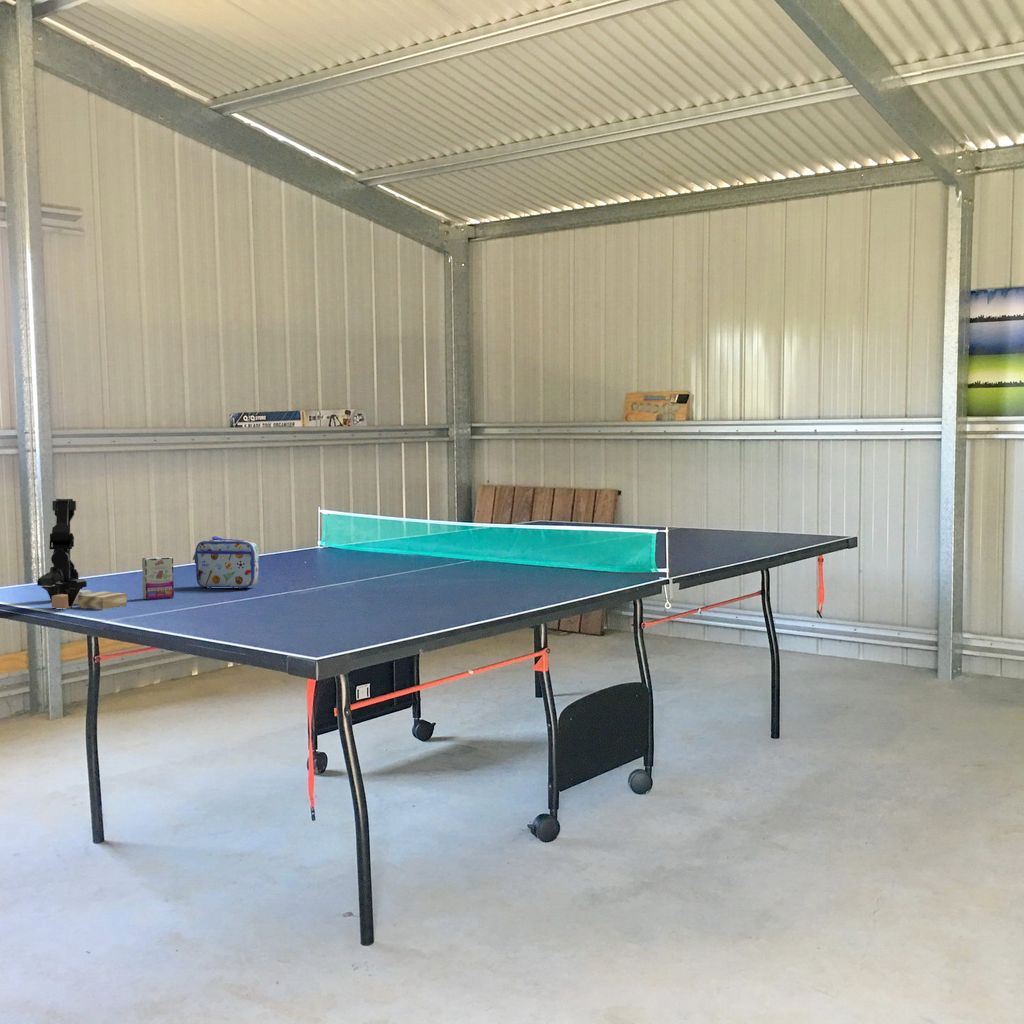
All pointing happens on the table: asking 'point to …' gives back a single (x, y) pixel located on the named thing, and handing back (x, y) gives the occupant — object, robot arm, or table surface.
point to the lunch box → (226, 563)
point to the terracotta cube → (60, 601)
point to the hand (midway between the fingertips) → (62, 605)
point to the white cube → (81, 594)
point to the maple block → (102, 600)
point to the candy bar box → (157, 577)
